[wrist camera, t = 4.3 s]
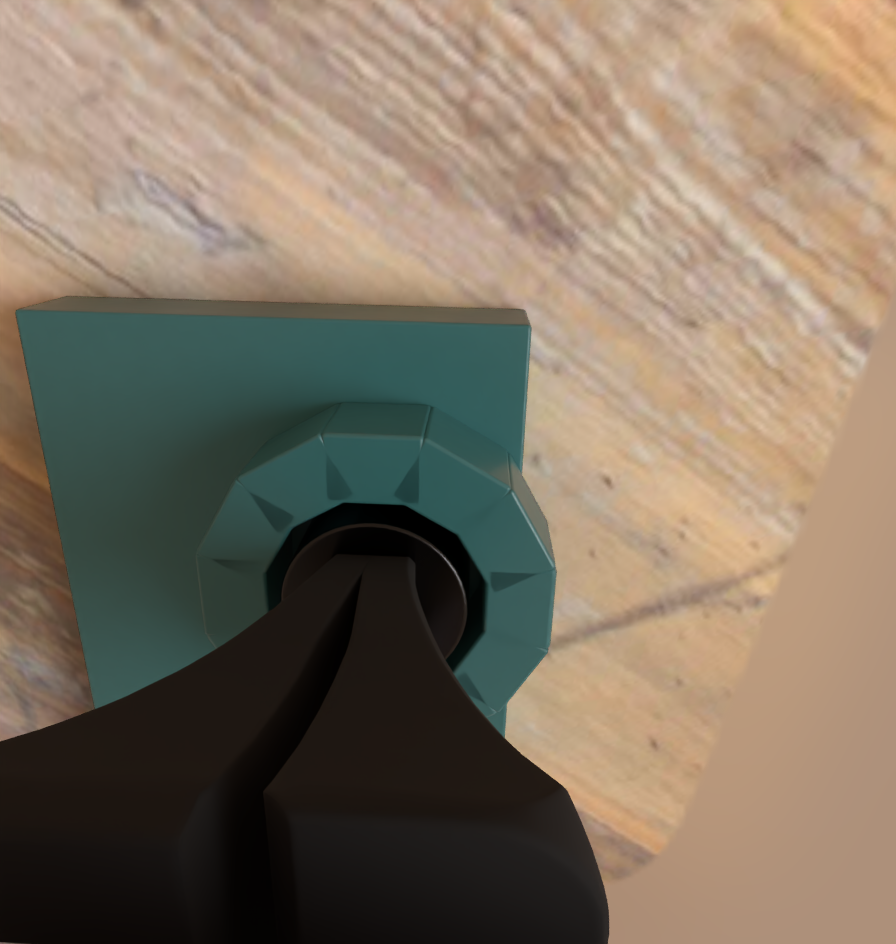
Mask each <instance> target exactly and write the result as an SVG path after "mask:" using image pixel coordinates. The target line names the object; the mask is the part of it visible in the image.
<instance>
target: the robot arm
mask: <svg viewBox="0 0 896 944" xmlns="http://www.w3.org/2000/svg"><path fill="white" fill-rule="evenodd" d="M608 937H609V910H608V903H607V898H606V894H605V889H604V885H603V882H602V879H601V875H600V872H599V869H598V865H597V862H596V859H595V856H594V853H593V850H592V848H591V845H590V842H589V840H588V837H587V835H586V832H585V830H584V827H583V825H582V822H581V820H580V818H579V816H578V813H577V811H576V809H575V807H574V804H573V802H572V800H571V798H570V796H569V794H568V791H567V790H566V789H565V788H564V787H563V786H562V785H561V784H559V783H558V782H557V781H556V780H554V779H553V778H552V777H550V776H549V775H548V774H546V773H545V772H544V771H543V770H541V769H540V768H539V767H537V766H536V765H535V764H534V763H532V762H531V761H530V760H528V759H527V758H526V757H524V756H523V755H522V754H521V753H520V752H518V751H517V750H516V749H515V748H514V747H513V746H512V745H511V744H510V743H509V742H508V741H507V740H506V739H505V738H504V737H503V736H502V735H501V734H500V732H499V731H498V730H497V729H496V728H495V727H494V726H493V724H492V723H491V722H490V721H489V720H488V719H487V718H486V717H485V715H484V714H483V713H482V712H481V711H480V710H479V709H478V707H477V706H476V705H475V704H474V702H473V701H472V700H471V698H470V697H469V696H468V694H467V693H466V691H465V690H464V689H463V687H462V686H461V684H460V683H459V681H458V680H457V678H456V677H455V675H454V674H453V672H452V670H451V669H450V667H449V665H448V664H447V662H446V660H445V658H444V657H443V655H442V653H441V651H440V649H439V647H438V645H437V643H436V641H435V639H434V637H433V635H432V632H431V630H430V628H429V625H428V623H427V620H426V617H425V615H424V612H423V609H422V607H421V604H420V601H419V597H418V593H417V589H416V585H415V563H414V562H413V561H412V560H411V559H410V558H409V557H397V556H372V555H348V554H336V555H335V556H334V557H333V558H332V559H330V560H329V561H328V562H327V563H326V564H325V565H323V566H322V567H321V568H320V569H319V570H318V571H317V572H315V573H314V574H313V575H312V576H311V577H310V578H309V579H308V580H306V581H305V582H304V583H303V584H302V585H301V586H300V587H298V588H297V589H296V590H295V591H294V592H293V593H291V594H290V595H289V596H288V597H287V598H285V599H284V600H283V601H282V602H281V603H279V604H278V605H277V606H276V607H274V608H273V609H272V610H270V611H269V612H268V613H266V614H265V615H264V616H262V617H261V618H260V619H258V620H257V621H256V622H254V623H253V624H251V625H250V626H249V627H247V628H246V629H245V630H243V631H242V632H241V633H239V634H238V635H237V636H235V637H234V638H232V639H231V640H229V641H228V642H226V643H224V644H223V645H221V646H220V647H218V648H217V649H215V650H213V651H212V652H210V653H208V654H207V655H205V656H203V657H202V658H200V659H198V660H196V661H195V662H193V663H191V664H190V665H188V666H186V667H184V668H182V669H181V670H179V671H177V672H175V673H173V674H171V675H169V676H167V677H164V678H162V679H160V680H158V681H156V682H154V683H152V684H150V685H148V686H146V687H144V688H142V689H140V690H138V691H136V692H134V693H132V694H130V695H128V696H125V697H123V698H121V699H118V700H116V701H114V702H111V703H109V704H106V705H104V706H102V707H99V708H97V709H94V710H92V711H89V712H87V713H84V714H81V715H79V716H76V717H73V718H71V719H68V720H65V721H63V722H60V723H57V724H54V725H51V726H48V727H45V728H43V729H40V730H37V731H33V732H30V733H27V734H24V735H20V736H17V737H14V738H10V739H7V740H4V741H0V944H608Z"/></svg>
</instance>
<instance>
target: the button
mask: <svg viewBox="0 0 896 944" xmlns="http://www.w3.org/2000/svg"><path fill="white" fill-rule="evenodd" d="M336 554H348V555H372V556H397V557H409V558H410V559H411V560H412V561H413V562H414V563H415V585H416V589H417V593H418V597H419V601H420V604H421V607H422V609H423V612H424V615H425V617H426V620H427V623H428V625H429V628H430V630H431V632H432V635H433V637H434V639H435V641H436V643H437V645H438V647H439V649H440V651H441V653H442V655H443V657H444V658H445V660H446V659H447V658H448V657H449V655H450V654H451V653H452V652H453V651H454V650H455V648H456V646H457V645H458V643H459V642H460V640H461V638H462V635H463V633H464V631H465V627H466V624H467V618H468V606H469V575H470V556H469V555H468V553H467V551H466V550H465V548H464V546H463V545H462V543H461V541H460V540H459V538H458V536H457V535H456V534H455V533H453V532H451V531H449V530H448V529H446V528H444V527H442V526H441V525H439V524H437V523H435V522H433V521H432V520H430V519H428V518H426V517H425V516H423V515H421V514H419V513H418V512H416V511H414V510H412V509H410V508H409V507H407V506H405V505H393V504H367V503H342V504H340V505H338V506H336V507H334V508H332V509H330V510H328V511H326V512H324V513H322V514H320V515H318V516H316V517H314V518H313V519H312V521H311V523H310V525H309V527H308V529H307V531H306V533H305V534H304V536H303V538H302V540H301V542H300V544H299V546H298V548H297V550H296V552H295V554H294V556H293V558H292V560H291V562H290V564H289V566H288V568H287V570H286V572H285V576H284V579H283V582H282V589H281V602H282V601H283V600H284V599H285V598H287V597H288V596H289V595H290V594H291V593H293V592H294V591H295V590H296V589H297V588H298V587H300V586H301V585H302V584H303V583H304V582H305V581H306V580H308V579H309V578H310V577H311V576H312V575H313V574H314V573H315V572H317V571H318V570H319V569H320V568H321V567H322V566H323V565H325V564H326V563H327V562H328V561H329V560H330V559H332V558H333V557H334V556H335V555H336Z"/></svg>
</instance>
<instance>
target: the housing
mask: <svg viewBox="0 0 896 944" xmlns="http://www.w3.org/2000/svg"><path fill="white" fill-rule="evenodd" d="M15 314H16V319H17V324H18V329H19V334H20V339H21V344H22V349H23V354H24V359H25V364H26V369H27V374H28V379H29V384H30V389H31V394H32V399H33V404H34V409H35V414H36V419H37V424H38V429H39V434H40V439H41V444H42V449H43V454H44V459H45V464H46V469H47V474H48V479H49V484H50V489H51V494H52V499H53V504H54V509H55V514H56V519H57V524H58V529H59V534H60V539H61V544H62V549H63V554H64V559H65V564H66V569H67V574H68V579H69V584H70V589H71V594H72V598H73V603H74V608H75V613H76V618H77V623H78V628H79V633H80V638H81V643H82V648H83V653H84V658H85V663H86V668H87V673H88V678H89V683H90V688H91V693H92V698H93V703H94V708H95V709H97V708H99V707H102V706H104V705H106V704H109V703H111V702H114V701H116V700H118V699H121V698H123V697H125V696H128V695H130V694H132V693H134V692H136V691H138V690H140V689H142V688H144V687H146V686H148V685H150V684H152V683H154V682H156V681H158V680H160V679H162V678H164V677H167V676H169V675H171V674H173V673H175V672H177V671H179V670H181V669H182V668H184V667H186V666H188V665H190V664H191V663H193V662H195V661H196V660H198V659H200V658H202V657H203V656H205V655H207V654H208V653H210V652H212V651H213V650H215V649H217V648H218V647H220V646H221V645H223V644H224V643H226V642H228V641H229V640H231V639H232V638H234V637H235V636H237V635H238V634H239V633H241V632H242V631H243V630H245V629H246V628H247V627H249V626H250V625H251V624H253V623H254V622H256V621H257V620H258V619H260V618H261V617H262V616H264V615H265V614H266V613H268V612H269V611H270V610H272V609H273V608H274V607H276V606H277V605H278V604H279V603H281V589H282V582H283V579H284V576H285V572H286V570H287V568H288V566H289V564H290V562H291V560H292V558H293V556H294V554H295V552H296V550H297V548H298V546H299V544H300V542H301V540H302V538H303V536H304V534H305V533H306V531H307V529H308V527H309V525H310V523H311V521H312V519H313V518H314V517H316V516H318V515H320V514H322V513H324V512H326V511H328V510H330V509H332V508H334V507H336V506H338V505H340V504H342V503H367V504H393V505H405V506H407V507H409V508H410V509H412V510H414V511H416V512H418V513H419V514H421V515H423V516H425V517H426V518H428V519H430V520H432V521H433V522H435V523H437V524H439V525H441V526H442V527H444V528H446V529H448V530H449V531H451V532H453V533H455V534H456V535H457V536H458V538H459V540H460V541H461V543H462V545H463V546H464V548H465V550H466V551H467V553H468V555H469V556H470V575H469V606H468V618H467V624H466V627H465V631H464V633H463V635H462V638H461V640H460V642H459V643H458V645H457V646H456V648H455V650H454V651H453V652H452V653H451V654H450V655H449V657H448V658H447V659H446V662H447V664H448V665H449V667H450V669H451V670H452V672H453V674H454V675H455V677H456V678H457V680H458V681H459V683H460V684H461V686H462V687H463V689H464V690H465V691H466V693H467V694H468V696H469V697H470V698H471V700H472V701H473V702H474V704H475V705H476V706H477V707H478V709H479V710H480V711H481V712H482V713H483V714H484V715H485V717H486V718H487V719H488V720H489V721H490V722H491V723H492V724H493V726H494V727H495V728H496V729H497V730H498V731H499V732H500V734H501V735H502V736H503V737H504V738H505V726H506V711H507V702H508V701H509V700H510V699H511V697H512V696H513V695H514V694H515V692H516V691H517V690H518V689H519V687H520V686H521V685H522V684H523V682H524V681H525V680H526V679H527V677H528V676H529V675H530V674H531V673H532V671H533V670H534V669H535V668H536V666H537V665H538V664H539V663H540V661H541V660H542V659H543V658H544V656H545V655H546V654H547V653H548V647H549V645H550V641H551V630H552V618H553V607H554V596H555V585H556V574H557V571H556V566H555V560H554V554H553V549H552V544H551V539H550V534H549V529H548V524H547V520H546V518H545V516H544V514H543V512H542V511H541V509H540V507H539V505H538V503H537V502H536V500H535V498H534V496H533V494H532V492H531V491H530V489H529V487H528V485H527V483H526V481H525V480H524V478H523V476H522V465H523V450H524V435H525V419H526V404H527V389H528V373H529V358H530V343H531V325H530V323H529V320H528V317H527V314H526V311H525V310H521V309H487V308H453V307H419V306H385V305H351V304H317V303H283V302H248V301H214V300H180V299H146V298H112V297H78V296H66V297H62V298H58V299H55V300H51V301H47V302H43V303H40V304H36V305H32V306H28V307H25V308H21V309H18V310H16V312H15Z"/></svg>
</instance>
